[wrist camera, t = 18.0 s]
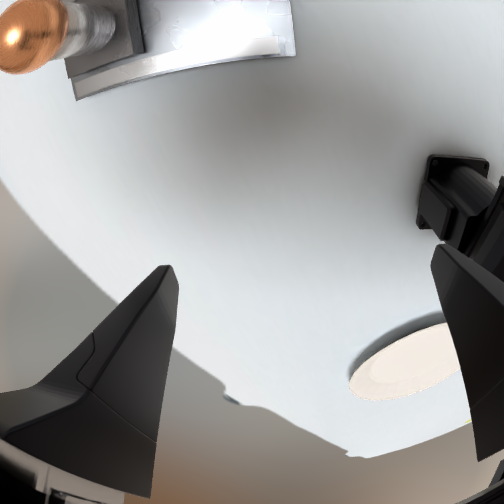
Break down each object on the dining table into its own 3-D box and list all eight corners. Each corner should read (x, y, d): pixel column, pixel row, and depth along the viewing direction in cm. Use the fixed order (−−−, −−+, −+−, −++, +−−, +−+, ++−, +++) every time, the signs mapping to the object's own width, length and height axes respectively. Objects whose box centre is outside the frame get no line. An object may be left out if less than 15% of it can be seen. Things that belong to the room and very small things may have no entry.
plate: (499, 312, 31) (505, 323, 29) (422, 386, 43) (425, 396, 42) (398, 299, 28) (404, 315, 26) (323, 389, 41) (325, 401, 39)
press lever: (134, -15, 10) (38, -43, 3) (144, 53, 13) (49, 69, 6) (72, 11, 11) (-35, 18, 4) (82, 74, 14) (-22, 114, 7)
